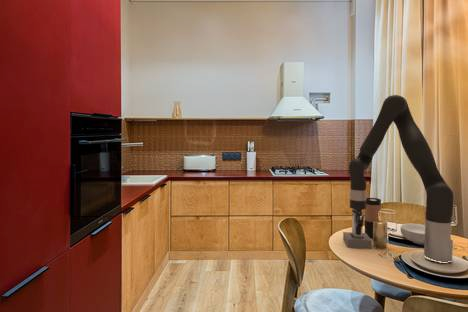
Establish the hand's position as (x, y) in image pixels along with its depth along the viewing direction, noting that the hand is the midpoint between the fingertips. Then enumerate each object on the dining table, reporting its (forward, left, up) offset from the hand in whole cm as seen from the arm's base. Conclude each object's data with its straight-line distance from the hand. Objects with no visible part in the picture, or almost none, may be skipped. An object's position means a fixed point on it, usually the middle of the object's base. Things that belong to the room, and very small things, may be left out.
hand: (357, 232), depth 148 cm
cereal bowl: (-31, -8, -6) cm, 33 cm away
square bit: (0, 0, -4) cm, 4 cm away
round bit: (-10, +2, -6) cm, 12 cm away
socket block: (0, 0, -6) cm, 6 cm away
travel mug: (-10, -13, -6) cm, 18 cm away
